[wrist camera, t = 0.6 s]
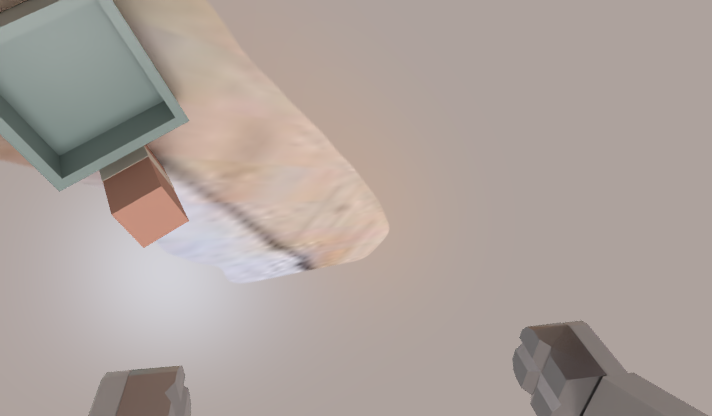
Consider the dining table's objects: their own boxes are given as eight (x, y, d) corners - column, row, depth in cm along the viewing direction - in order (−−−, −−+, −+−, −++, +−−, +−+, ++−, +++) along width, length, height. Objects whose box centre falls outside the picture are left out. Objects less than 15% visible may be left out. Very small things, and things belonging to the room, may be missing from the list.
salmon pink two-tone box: (96, 157, 49) (110, 214, 41) (138, 134, 50) (161, 185, 42) (124, 190, 52) (143, 248, 44) (164, 167, 53) (189, 220, 45)
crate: (-65, 40, 37) (-76, 61, 33) (93, -29, 40) (100, -18, 36) (56, 164, 47) (59, 191, 43) (175, 100, 50) (189, 120, 46)
